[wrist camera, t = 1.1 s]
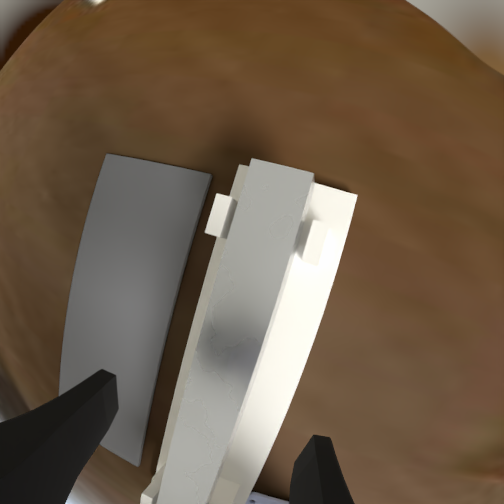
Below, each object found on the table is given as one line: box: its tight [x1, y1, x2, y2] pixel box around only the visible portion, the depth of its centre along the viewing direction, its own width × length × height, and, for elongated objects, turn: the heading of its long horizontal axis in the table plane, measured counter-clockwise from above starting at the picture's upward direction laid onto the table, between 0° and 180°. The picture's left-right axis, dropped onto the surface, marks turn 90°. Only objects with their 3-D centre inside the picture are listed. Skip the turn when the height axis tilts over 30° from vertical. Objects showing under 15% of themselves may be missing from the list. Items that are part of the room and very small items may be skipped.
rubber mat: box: [59, 154, 212, 467], centre depth 24 cm, size 26×10×1 cm, turn 163°
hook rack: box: [140, 164, 357, 504], centre depth 18 cm, size 28×8×6 cm, turn 163°
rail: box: [157, 158, 315, 504], centre depth 16 cm, size 26×3×2 cm, turn 163°
